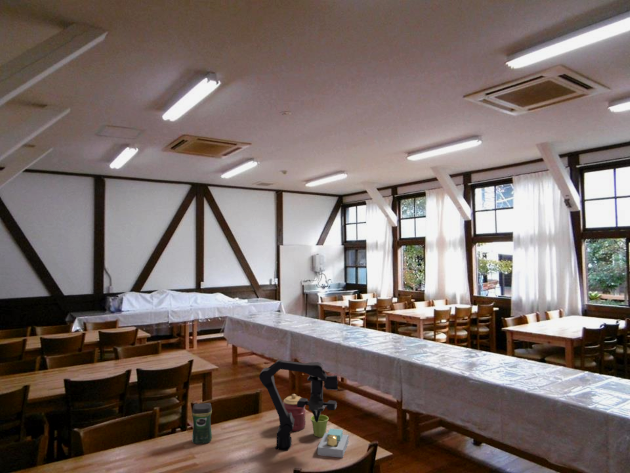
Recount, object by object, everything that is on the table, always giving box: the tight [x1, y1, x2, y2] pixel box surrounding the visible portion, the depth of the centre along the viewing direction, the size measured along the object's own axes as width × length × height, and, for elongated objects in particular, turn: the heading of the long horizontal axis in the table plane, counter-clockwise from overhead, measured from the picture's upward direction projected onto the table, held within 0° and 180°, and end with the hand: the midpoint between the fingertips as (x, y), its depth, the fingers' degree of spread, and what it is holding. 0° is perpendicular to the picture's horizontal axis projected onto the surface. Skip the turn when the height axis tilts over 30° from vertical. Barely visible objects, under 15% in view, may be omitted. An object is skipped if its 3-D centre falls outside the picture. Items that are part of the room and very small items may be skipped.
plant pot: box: [310, 414, 330, 438], centre depth 225 cm, size 9×9×9 cm
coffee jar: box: [191, 402, 213, 445], centre depth 218 cm, size 10×8×19 cm
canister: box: [283, 393, 307, 432], centre depth 236 cm, size 13×13×18 cm
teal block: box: [327, 428, 344, 441], centre depth 213 cm, size 6×7×2 cm
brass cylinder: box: [327, 435, 337, 447], centre depth 206 cm, size 4×4×7 cm
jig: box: [317, 432, 350, 459], centre depth 210 cm, size 12×17×4 cm
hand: (316, 421), depth 210 cm, fingers closed
